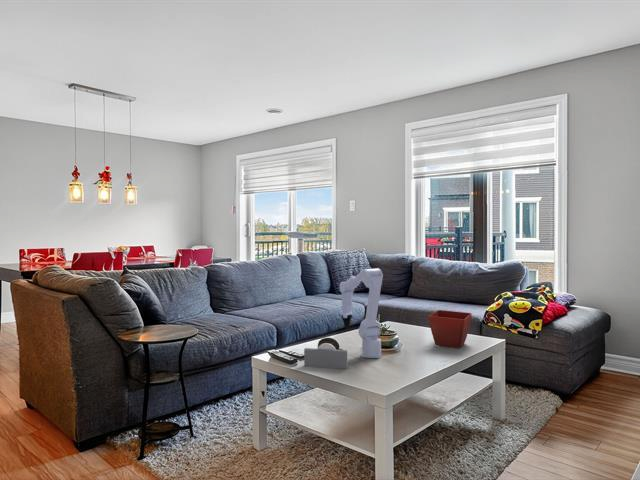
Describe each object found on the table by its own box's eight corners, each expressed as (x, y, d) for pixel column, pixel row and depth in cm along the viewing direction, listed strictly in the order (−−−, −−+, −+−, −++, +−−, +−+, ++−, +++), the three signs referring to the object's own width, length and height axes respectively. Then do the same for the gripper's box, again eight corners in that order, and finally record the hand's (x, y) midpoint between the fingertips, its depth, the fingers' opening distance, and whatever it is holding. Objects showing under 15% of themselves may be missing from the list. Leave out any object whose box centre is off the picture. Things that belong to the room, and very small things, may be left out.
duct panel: (347, 366, 216) (347, 344, 215) (346, 368, 213) (346, 346, 212) (305, 364, 220) (305, 342, 220) (304, 366, 217) (304, 343, 216)
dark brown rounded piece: (342, 350, 216) (346, 337, 231) (310, 350, 219) (317, 337, 234) (344, 369, 218) (348, 355, 233) (313, 369, 221) (318, 355, 236)
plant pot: (464, 351, 241) (464, 319, 240) (427, 346, 251) (428, 315, 250) (471, 343, 258) (472, 312, 257) (437, 338, 267) (437, 309, 267)
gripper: (341, 301, 260) (342, 325, 261) (337, 305, 246) (337, 331, 246) (354, 301, 259) (354, 325, 259) (350, 306, 244) (350, 331, 245)
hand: (347, 328), depth 253 cm, fingers closed
